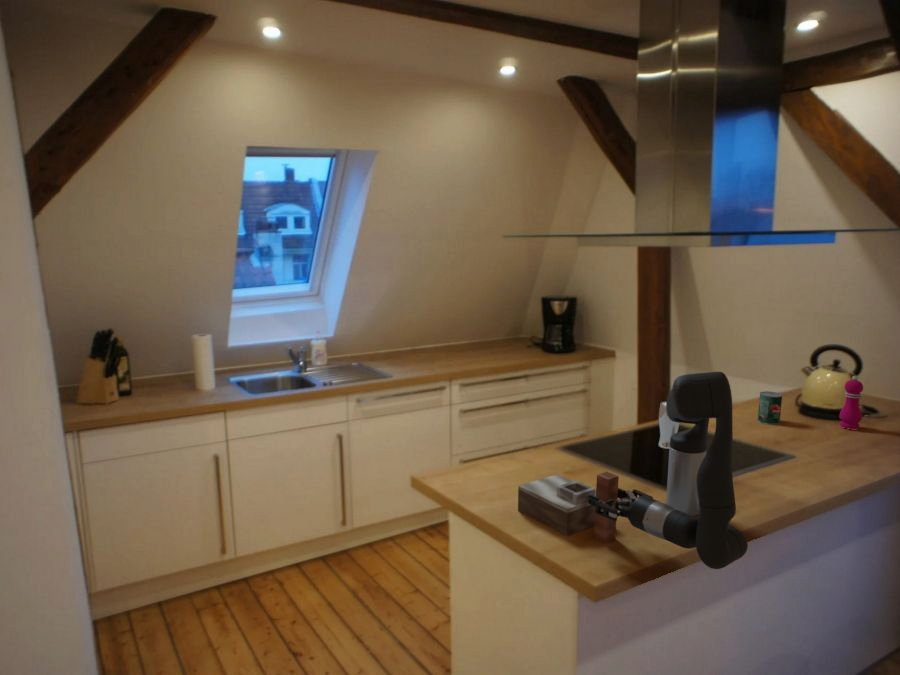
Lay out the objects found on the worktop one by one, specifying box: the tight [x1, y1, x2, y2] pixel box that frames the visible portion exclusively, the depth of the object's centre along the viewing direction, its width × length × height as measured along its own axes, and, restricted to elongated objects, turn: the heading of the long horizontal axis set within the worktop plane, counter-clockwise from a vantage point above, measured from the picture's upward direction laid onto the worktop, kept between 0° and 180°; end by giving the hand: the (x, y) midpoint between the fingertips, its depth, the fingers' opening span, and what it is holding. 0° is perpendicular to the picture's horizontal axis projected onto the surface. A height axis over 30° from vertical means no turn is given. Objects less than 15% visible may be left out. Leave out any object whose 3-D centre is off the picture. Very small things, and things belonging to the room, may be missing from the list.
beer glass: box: [658, 401, 680, 450], centre depth 231 cm, size 7×7×15 cm
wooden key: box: [593, 471, 620, 543], centre depth 163 cm, size 4×4×16 cm
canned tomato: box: [757, 390, 783, 425], centre depth 260 cm, size 8×8×11 cm
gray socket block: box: [517, 474, 596, 537], centre depth 176 cm, size 14×18×10 cm
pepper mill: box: [839, 375, 864, 429], centre depth 252 cm, size 7×7×20 cm
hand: (600, 494), depth 164 cm, fingers open, 8 cm apart
